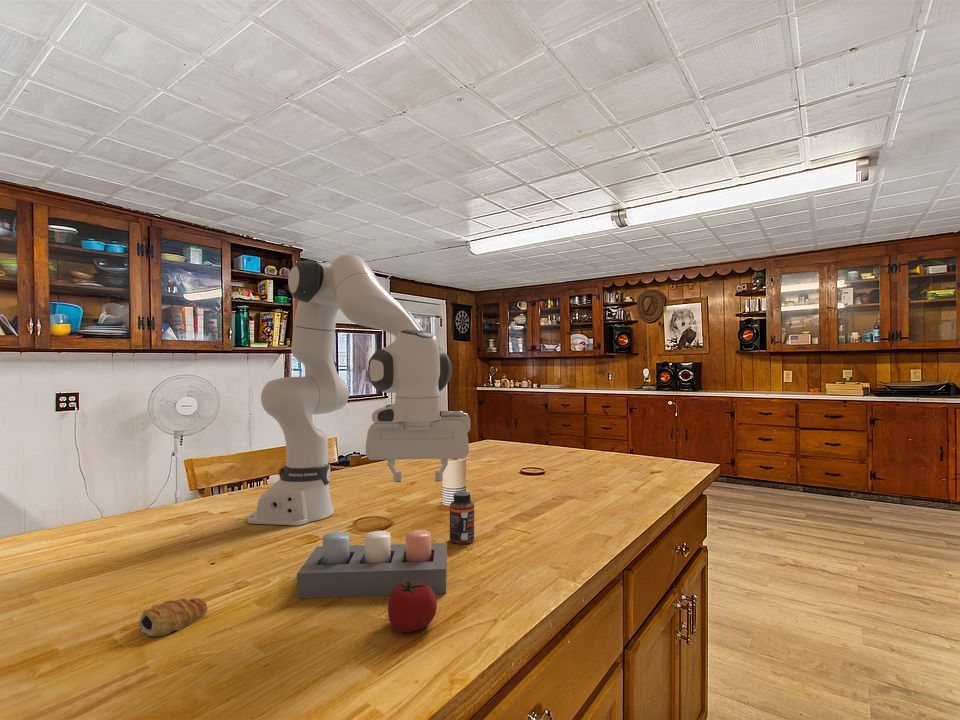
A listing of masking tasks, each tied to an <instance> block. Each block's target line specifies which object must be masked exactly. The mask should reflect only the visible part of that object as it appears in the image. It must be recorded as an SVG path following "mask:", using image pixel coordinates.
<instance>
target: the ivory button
mask: <svg viewBox="0 0 960 720" xmlns="http://www.w3.org/2000/svg"><path fill="white" fill-rule="evenodd" d="M363 545H365V564H370V563H391V533H390V532H389V531H387V530H373V531H369V532H367V533H366V534H365V535H364V544H363Z"/></svg>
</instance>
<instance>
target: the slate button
mask: <svg viewBox="0 0 960 720" xmlns="http://www.w3.org/2000/svg"><path fill="white" fill-rule="evenodd" d="M322 546H323V565H335V564H349V562H350V556H349V546H350V533H348V532H345V531H334V532H329V533H327V534H324V535H323V536H322Z"/></svg>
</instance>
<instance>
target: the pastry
mask: <svg viewBox="0 0 960 720" xmlns="http://www.w3.org/2000/svg"><path fill="white" fill-rule="evenodd" d="M207 611H208V605H207V603H206V602H205V600H204V599H201V598H197V597H193V598H190V599H186V598H180V599H176V600H165V601H164V602H163V603H159V604H155V605H152V606H151V607H150V608H148V609H144V610H143V611H142V614H141V616H140V617H139V621H138V627H139V628H140V631H141V632H142V634H144V635H145V634H147V636H149V637H154V638H155V637H163V636H167V635H170V634H171V633H172V632H174V631H177V632H178V631H179V630H182V629H184V628H186V627H188V626H190V625H192V624H194V623H195V622H197V621H199V620H200V619H201V618H202V617H203V616H204V615H205V614H207Z"/></svg>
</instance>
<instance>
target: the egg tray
mask: <svg viewBox="0 0 960 720" xmlns="http://www.w3.org/2000/svg"><path fill="white" fill-rule="evenodd" d="M447 543H448V542H436V543H435V542H434V543H432V542H431V562H406V543H399V544H398V543H397V544H391V543H390V544H391V563H370V564H365V544H361V545H359V544H357V545H349V556H350V562H349V564H335V565H323V545H321V546H319V545H318V546H316V547H315V548H314V549H313V551H312V552H311V554H310V556H308V558H307V559H306V560H305V561H304V563H303V565H302V566H301V567H300V569H299V570H298V571H297V573H296V598H297V599H314V598H315V599H317V598H318V599H319V598H349V597H351V598H352V597H373V596H374V597H379V596H390V594H391V592H392V590H393V589H394V588H395V587H396V586H397V585H398V584H399V583H403V582H407V581H416V582H419V583H423V584H425V585H427V586H429V587H431V588H432V590H433V592H434V593H435V595H438V594H440V595H441V594H447V578H448V577H447V576H448V575H447V573H448V572H447V571H448V549H447V548H448V547H447V546H448V544H447Z"/></svg>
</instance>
